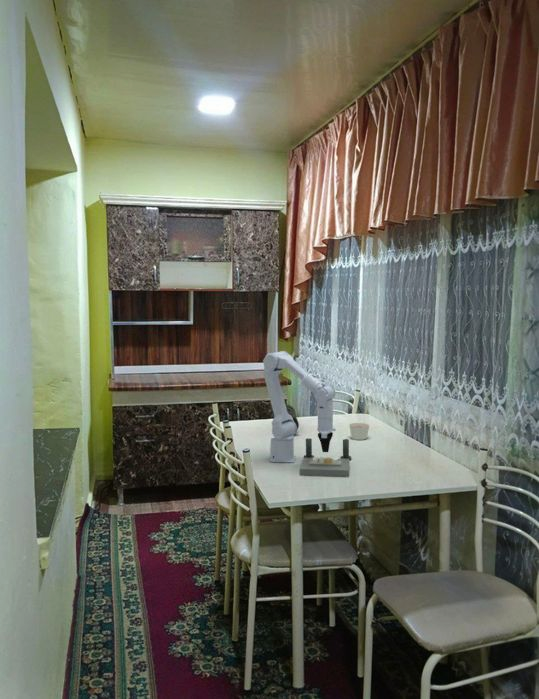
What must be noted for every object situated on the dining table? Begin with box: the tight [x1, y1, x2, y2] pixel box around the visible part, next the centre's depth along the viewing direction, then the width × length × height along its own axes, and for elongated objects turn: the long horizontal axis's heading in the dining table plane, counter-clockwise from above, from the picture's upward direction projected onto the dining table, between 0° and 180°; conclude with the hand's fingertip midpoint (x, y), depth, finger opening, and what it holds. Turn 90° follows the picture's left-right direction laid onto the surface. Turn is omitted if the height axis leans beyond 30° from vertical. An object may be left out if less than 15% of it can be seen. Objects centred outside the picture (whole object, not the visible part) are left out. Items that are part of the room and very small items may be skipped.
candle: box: [348, 422, 370, 441], centre depth 266 cm, size 9×9×6 cm
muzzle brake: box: [285, 403, 300, 431], centre depth 285 cm, size 10×28×10 cm, turn 2°
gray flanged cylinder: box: [303, 438, 315, 458], centre depth 237 cm, size 4×4×8 cm
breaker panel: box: [299, 456, 350, 478], centre depth 221 cm, size 18×14×5 cm
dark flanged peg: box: [339, 438, 352, 462], centre depth 234 cm, size 4×4×8 cm
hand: (325, 451), depth 223 cm, fingers closed
